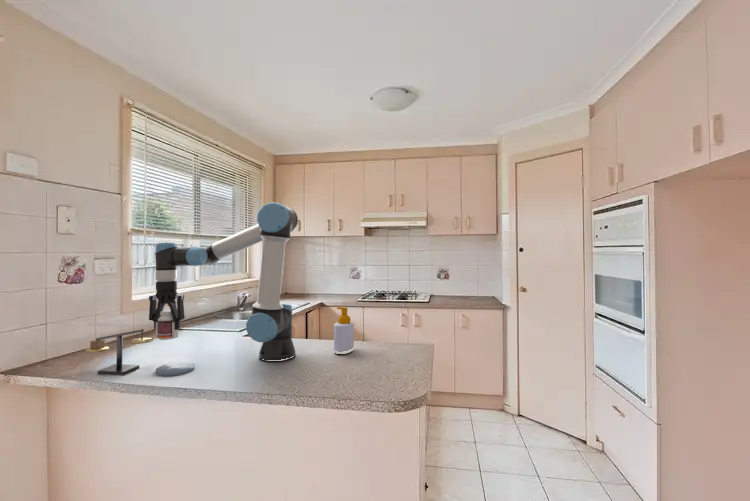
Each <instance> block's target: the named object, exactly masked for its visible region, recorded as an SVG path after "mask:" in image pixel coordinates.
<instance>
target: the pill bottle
mask: <svg viewBox="0 0 750 501" xmlns="http://www.w3.org/2000/svg"><path fill="white" fill-rule="evenodd" d="M160 315H161V317H159V319H158V338H157V339H158V340H160V341H166V340H167V341H168V340H172V322H173V321H174V319H173V316H172V313H171V310H170V309H169V310H167V309H166V310H163V311H161V312H160Z"/></svg>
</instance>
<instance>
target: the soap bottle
mask: <svg viewBox="0 0 750 501" xmlns="http://www.w3.org/2000/svg"><path fill="white" fill-rule="evenodd" d="M336 309H337V310H341V315H339V317H338V318H337V322H335V323H334V325H333V351H334V350H335V351H338V352H343V351H348V350H350V349H352V348H353V347H354V344H355V340H354V339H355V338H354V337H355V322H354V321H352V320H351V317H350V316H349V315H348V307H347V306H337V307H336ZM354 348H355V347H354Z"/></svg>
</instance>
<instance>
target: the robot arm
mask: <svg viewBox="0 0 750 501" xmlns="http://www.w3.org/2000/svg"><path fill="white" fill-rule="evenodd" d="M256 221H257V224H255V225H253V226H251V227H248V228H246V229H243V230H241V231H239V232H237V233H234V234H232V235H229V236H228V237H226V238H222V239H221V240H218V241H216V242H214V243H212V244H209V245H207V246H204V247H201V246H186V247H184V246H183V247H179V246H177V243H176V242H157V243H156V244H155V252H154V255H155V256H154V258H155V281H156V282H155V291H156V293H155V294H153V295H149V296H148V301H149V313H148V321H153V329H154V330H155V339H158V319H159V317H161V315H160V312H161V311H164V306H166V304H167V306H168V307H169V310H171V313H172V316H173V319H174V321H173V322H172V339H177V338H179V330H180V328H181V325H180V324H181V321H183V320H185V319H186V318H185V317H186V315H185V307H184V306H185V305H184V299H185V295H184V294H182V295H181V294H178V292H177V290H178V281H177V279H178V276H177V275H178V274H177V273H178V270H177V269H178V267H180V266H183V267H185V266H187V267H188V266H189V267H190V266H191V267H195V266H196V267H198V266H203V265H204V266H205V265H206V266H207V265H208V266H211V265H215V264H216V263H218V262H219V261H221V260H223V259H225V258H227V257H230V256H231V255H234V254H236V253H238V252H241V251H244V250H246V249H248V248H250V247H253V246H254V245H258V244H260V243H262V249H261V260H260V270H259V278H258V279H259V280H258V289H257V300H256V302H254V303H253V304H252V309H251V315H250V316H249V318H248V319H247V321H246V323H245V329H246V332H247V335H248V336H249V338H251V340H253V341H254V342H257V343H261V346H260V349H259V352H258V353H259V354H258V359H259V358H261V359H264V360H281V359H286V358H290V357H292V356H294V355H295V356H296V349H295V346H294V342H293V338H292V336H293V335H292V330H293V329H292V324H293V306H292V305H291V304H289V303H281V291H282V282H283V272H284V263H285V262H284V260H285V252H286V244H287V242H288V241H290V239H291V233H292V232H294V231H295V230H296V228H297V227H298V224H299V216H298V213H297V212H296V211H295V209H294V208H292V207H290V206H287V205H285V204H283V203H280V202H268V203H265V204H264V205H262V206H261V207H260V209H259V210H258V212H257V215H256ZM172 339H171V340H172Z"/></svg>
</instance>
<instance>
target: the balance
mask: <svg viewBox="0 0 750 501" xmlns="http://www.w3.org/2000/svg"><path fill="white" fill-rule="evenodd" d="M144 332H145V329H144V328H141V329H137V330H131V331H125V332H120V333H116V334H109V335H106V336H99V337H96V338H95V339H93V340H90V343H89V344H90V347H87V348H86V349H85V353H92V354H93V353H101V352H105V351H108V350H109V349H110V347H109V346H106V345H105V339H106V340H107V339H111V338H116V358H115V360H116V363H114V364H111V365H110V366H107V367H104V368H101V369H99V370H97V375H111V376H125V375H127V374H130V373H132V372H134V371H137V370H139V369H140V364H123V342H124V340H123V337H124V336H127V335H128V336H129V335H133V334H137V333H141V337H139V338H138V337H137V338H133V339H131V340H130V344H135V345H137V344H138V345H139V344H147V343H152V342H153V341H154V338H152V337H144Z"/></svg>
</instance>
